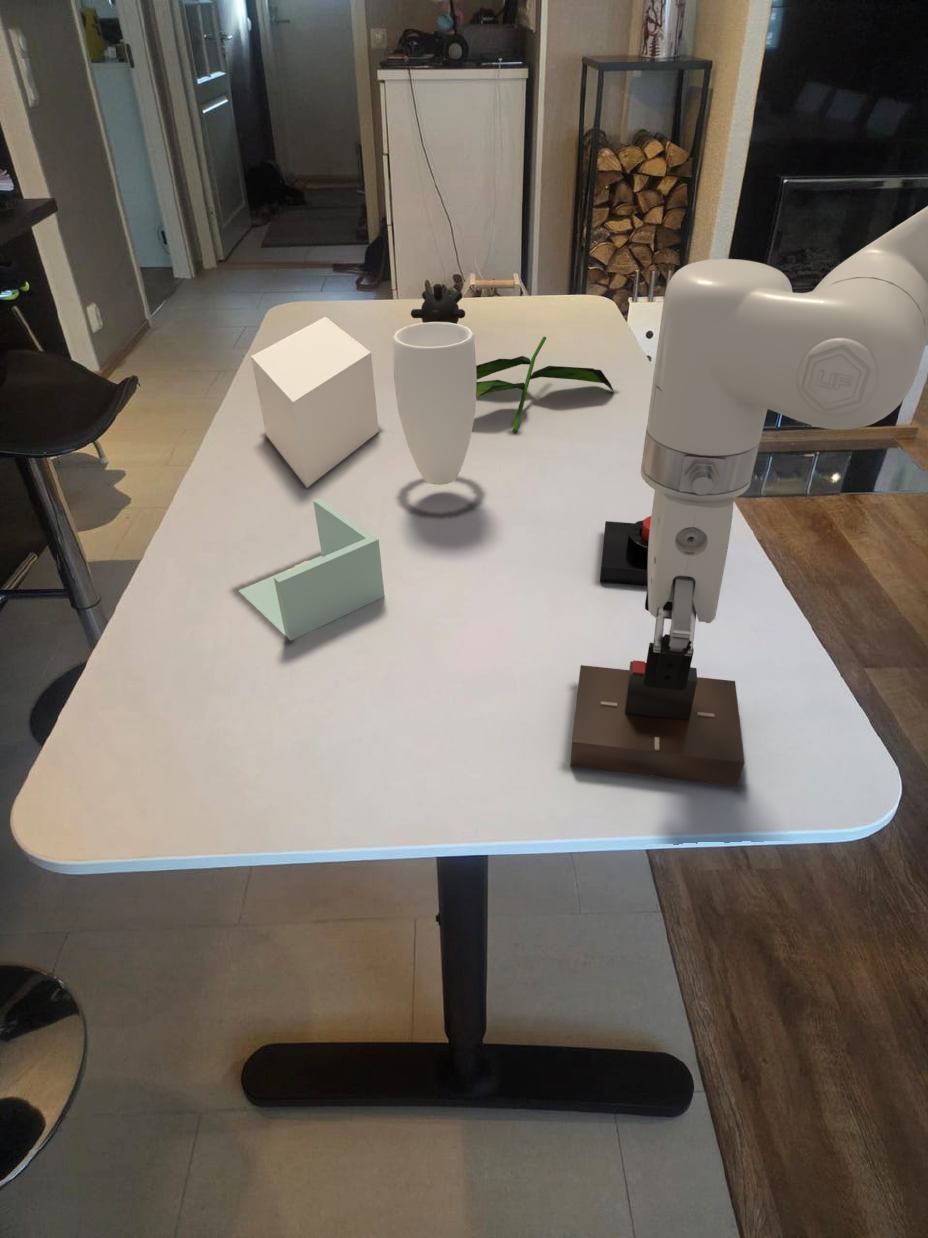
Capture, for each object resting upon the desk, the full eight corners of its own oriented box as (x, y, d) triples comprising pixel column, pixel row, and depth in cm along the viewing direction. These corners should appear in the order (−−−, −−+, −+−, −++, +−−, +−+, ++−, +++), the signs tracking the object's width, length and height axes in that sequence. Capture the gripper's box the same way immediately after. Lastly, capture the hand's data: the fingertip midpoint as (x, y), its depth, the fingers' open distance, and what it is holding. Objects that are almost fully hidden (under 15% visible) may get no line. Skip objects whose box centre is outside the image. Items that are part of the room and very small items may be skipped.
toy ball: (482, 312, 160) (474, 314, 149) (445, 351, 164) (435, 356, 153) (444, 271, 158) (434, 270, 147) (408, 311, 162) (395, 313, 151)
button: (673, 529, 92) (675, 516, 91) (673, 546, 90) (675, 532, 89) (641, 527, 93) (643, 514, 92) (641, 543, 90) (642, 530, 89)
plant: (420, 404, 132) (417, 358, 127) (540, 364, 145) (542, 321, 141) (494, 441, 120) (494, 391, 116) (618, 393, 134) (622, 347, 129)
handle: (688, 706, 70) (697, 665, 67) (689, 720, 69) (697, 679, 66) (625, 699, 71) (630, 658, 68) (624, 713, 70) (630, 672, 67)
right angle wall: (328, 552, 97) (319, 497, 92) (384, 596, 90) (378, 539, 85) (238, 590, 91) (224, 534, 87) (290, 640, 84) (278, 582, 79)
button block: (704, 543, 96) (709, 515, 94) (708, 591, 89) (714, 561, 86) (604, 536, 98) (606, 507, 96) (599, 582, 91) (602, 552, 88)
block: (243, 489, 110) (224, 404, 103) (284, 391, 138) (271, 318, 130) (370, 485, 110) (361, 399, 103) (385, 388, 138) (378, 314, 130)
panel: (729, 704, 75) (735, 679, 73) (738, 787, 67) (745, 761, 65) (578, 688, 77) (580, 663, 75) (569, 766, 69) (572, 740, 67)
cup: (386, 497, 107) (370, 336, 94) (441, 470, 113) (434, 314, 100) (440, 524, 102) (432, 356, 88) (496, 494, 107) (495, 332, 94)
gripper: (768, 526, 48) (716, 727, 59) (744, 409, 61) (705, 590, 72) (641, 515, 49) (612, 714, 60) (644, 403, 62) (621, 581, 73)
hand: (663, 646), depth 66 cm, fingers open, 9 cm apart
